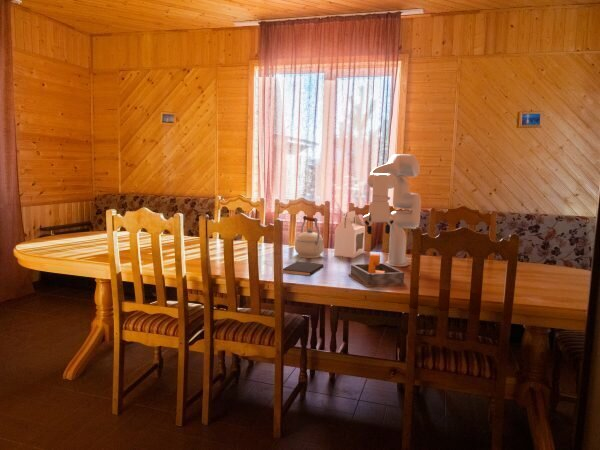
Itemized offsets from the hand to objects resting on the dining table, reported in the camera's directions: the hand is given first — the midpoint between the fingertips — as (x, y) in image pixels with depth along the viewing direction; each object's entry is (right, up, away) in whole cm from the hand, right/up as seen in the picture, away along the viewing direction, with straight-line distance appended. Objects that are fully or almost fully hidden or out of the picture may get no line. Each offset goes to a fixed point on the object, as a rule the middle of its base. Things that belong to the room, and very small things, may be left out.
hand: (378, 233), depth 232 cm
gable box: (-7, -15, +72) cm, 74 cm away
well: (-1, -24, +3) cm, 24 cm away
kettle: (-32, -16, +61) cm, 71 cm away
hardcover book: (-37, -21, +23) cm, 49 cm away
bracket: (0, -23, +3) cm, 23 cm away
